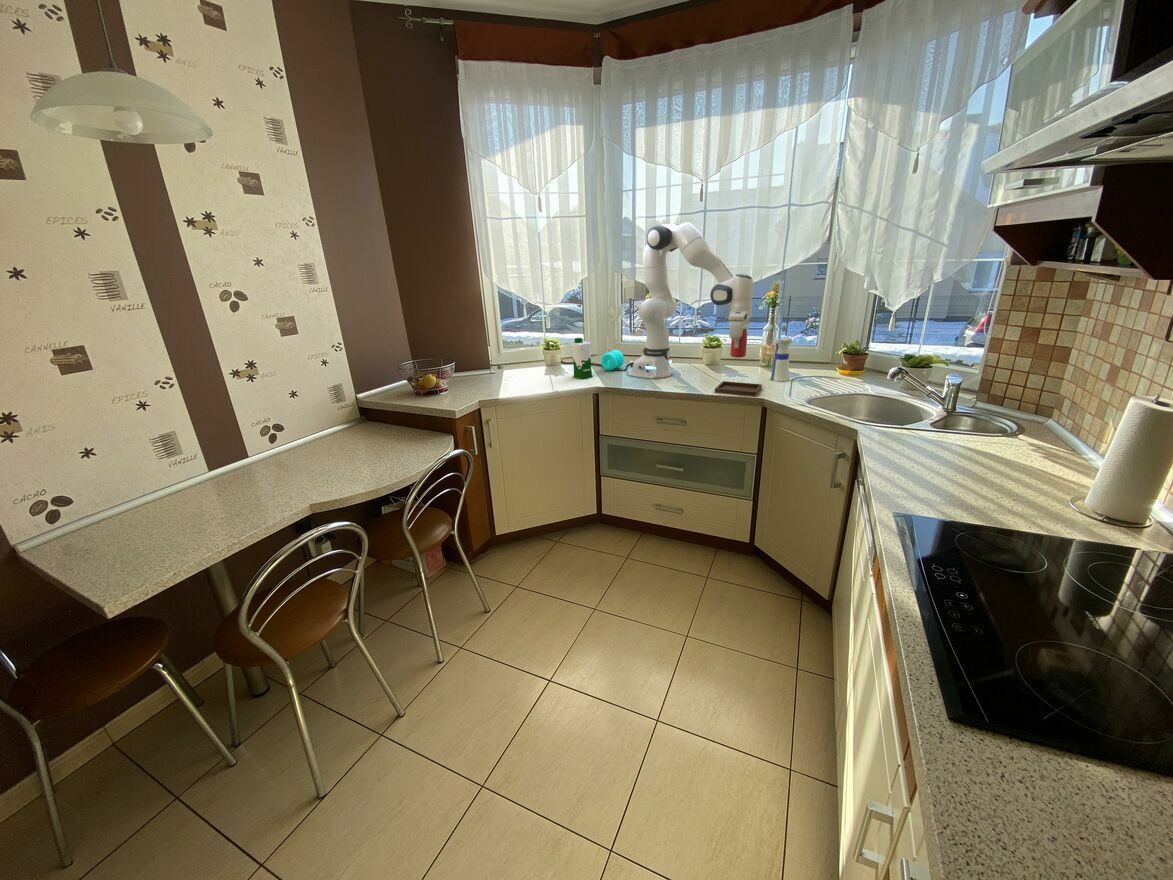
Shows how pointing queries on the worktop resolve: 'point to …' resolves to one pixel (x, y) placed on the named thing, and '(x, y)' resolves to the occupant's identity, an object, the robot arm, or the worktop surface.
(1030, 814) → the worktop surface
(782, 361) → the water bottle
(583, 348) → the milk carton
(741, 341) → the beer can
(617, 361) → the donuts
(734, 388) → the tray
